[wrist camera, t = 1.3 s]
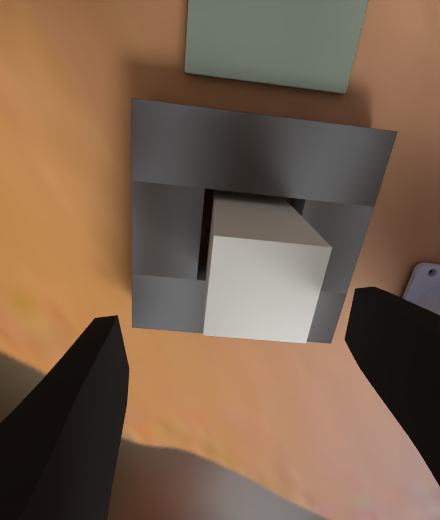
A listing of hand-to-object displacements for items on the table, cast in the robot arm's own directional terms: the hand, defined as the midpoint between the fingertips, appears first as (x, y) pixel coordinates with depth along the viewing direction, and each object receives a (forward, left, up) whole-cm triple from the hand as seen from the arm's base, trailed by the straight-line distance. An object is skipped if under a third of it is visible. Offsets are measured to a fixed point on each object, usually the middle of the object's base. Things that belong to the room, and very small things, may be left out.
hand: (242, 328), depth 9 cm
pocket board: (-1, 0, -10) cm, 10 cm away
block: (-1, 0, -10) cm, 10 cm away
